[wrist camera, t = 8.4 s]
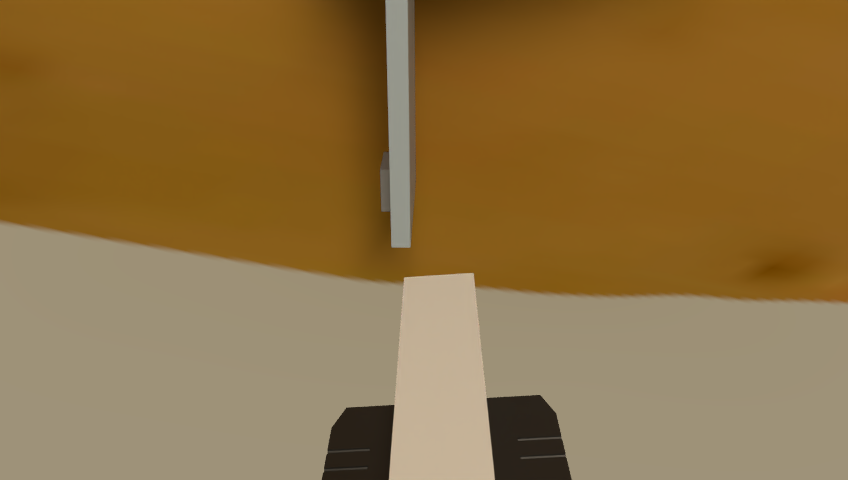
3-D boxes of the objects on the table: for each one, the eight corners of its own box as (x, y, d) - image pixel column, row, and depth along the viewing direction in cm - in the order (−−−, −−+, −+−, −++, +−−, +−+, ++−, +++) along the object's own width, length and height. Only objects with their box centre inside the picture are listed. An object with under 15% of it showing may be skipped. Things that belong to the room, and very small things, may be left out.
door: (381, -104, 31) (365, -103, 24) (415, -104, 31) (409, -103, 24) (388, 181, 37) (377, 247, 30) (417, 181, 37) (412, 247, 30)
